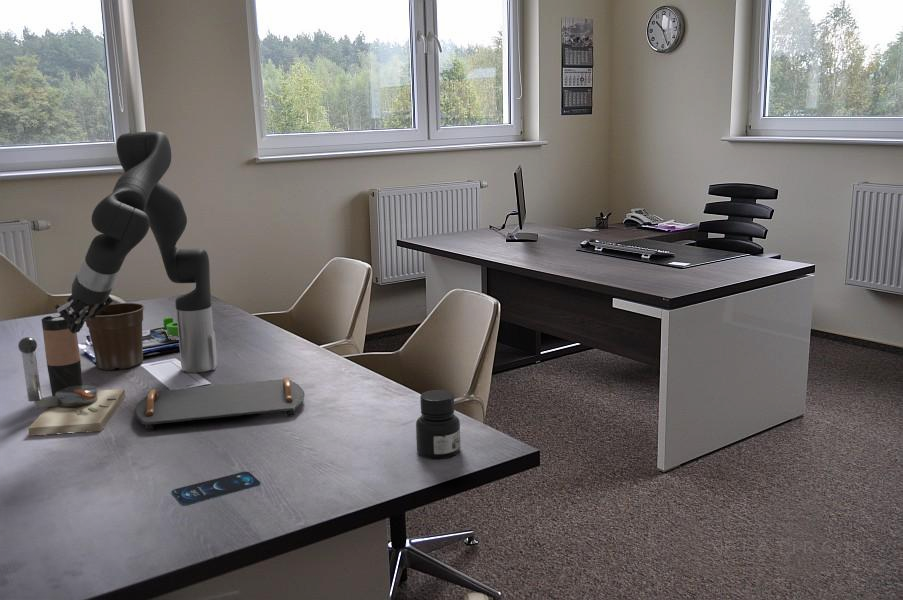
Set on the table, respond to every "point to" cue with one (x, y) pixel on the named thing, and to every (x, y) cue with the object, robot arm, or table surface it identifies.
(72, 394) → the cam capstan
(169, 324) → the tape dispenser
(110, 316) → the plant pot
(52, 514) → the table surface
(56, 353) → the travel mug
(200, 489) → the smartphone
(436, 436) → the ink bottle
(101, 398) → the flat beige board
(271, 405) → the serving board
